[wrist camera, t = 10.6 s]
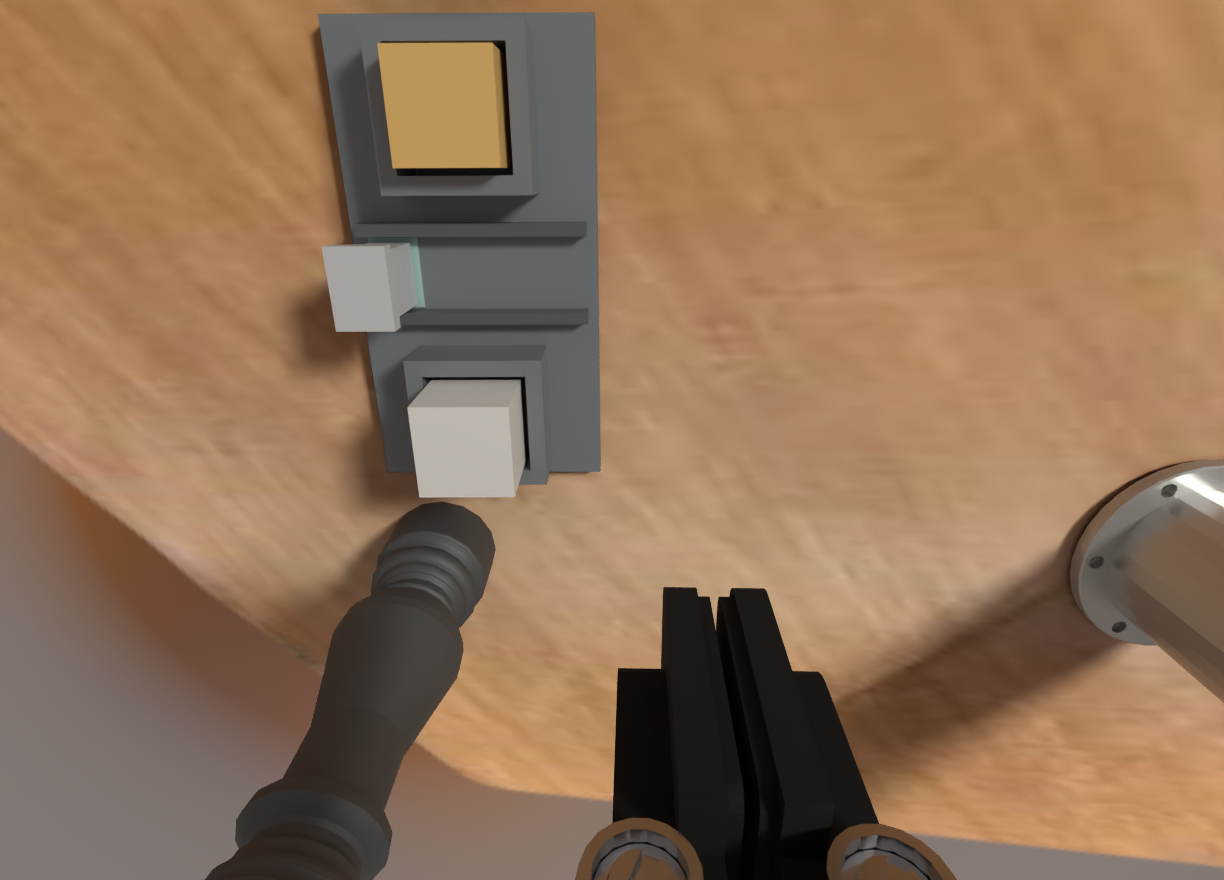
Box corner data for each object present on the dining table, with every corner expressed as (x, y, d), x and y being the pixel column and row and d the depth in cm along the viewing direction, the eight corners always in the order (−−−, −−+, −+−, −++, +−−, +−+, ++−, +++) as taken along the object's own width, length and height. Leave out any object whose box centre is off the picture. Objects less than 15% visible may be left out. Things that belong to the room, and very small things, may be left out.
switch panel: (594, 17, 29) (592, -5, 25) (600, 464, 37) (599, 496, 34) (327, 18, 29) (285, -4, 25) (393, 464, 37) (369, 497, 34)
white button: (520, 379, 32) (508, 407, 28) (525, 461, 33) (514, 497, 30) (431, 380, 32) (407, 407, 28) (440, 461, 34) (419, 497, 30)
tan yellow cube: (508, 59, 28) (492, 42, 25) (514, 168, 30) (500, 167, 26) (407, 59, 28) (377, 43, 25) (419, 168, 30) (392, 168, 26)
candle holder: (397, 586, 41) (115, 1131, 18) (390, 499, 38) (52, 997, 15) (496, 591, 41) (344, 1137, 18) (494, 504, 38) (318, 1006, 15)
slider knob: (415, 235, 31) (383, 246, 27) (424, 310, 33) (395, 331, 28) (361, 235, 31) (321, 246, 27) (372, 310, 33) (336, 331, 28)
